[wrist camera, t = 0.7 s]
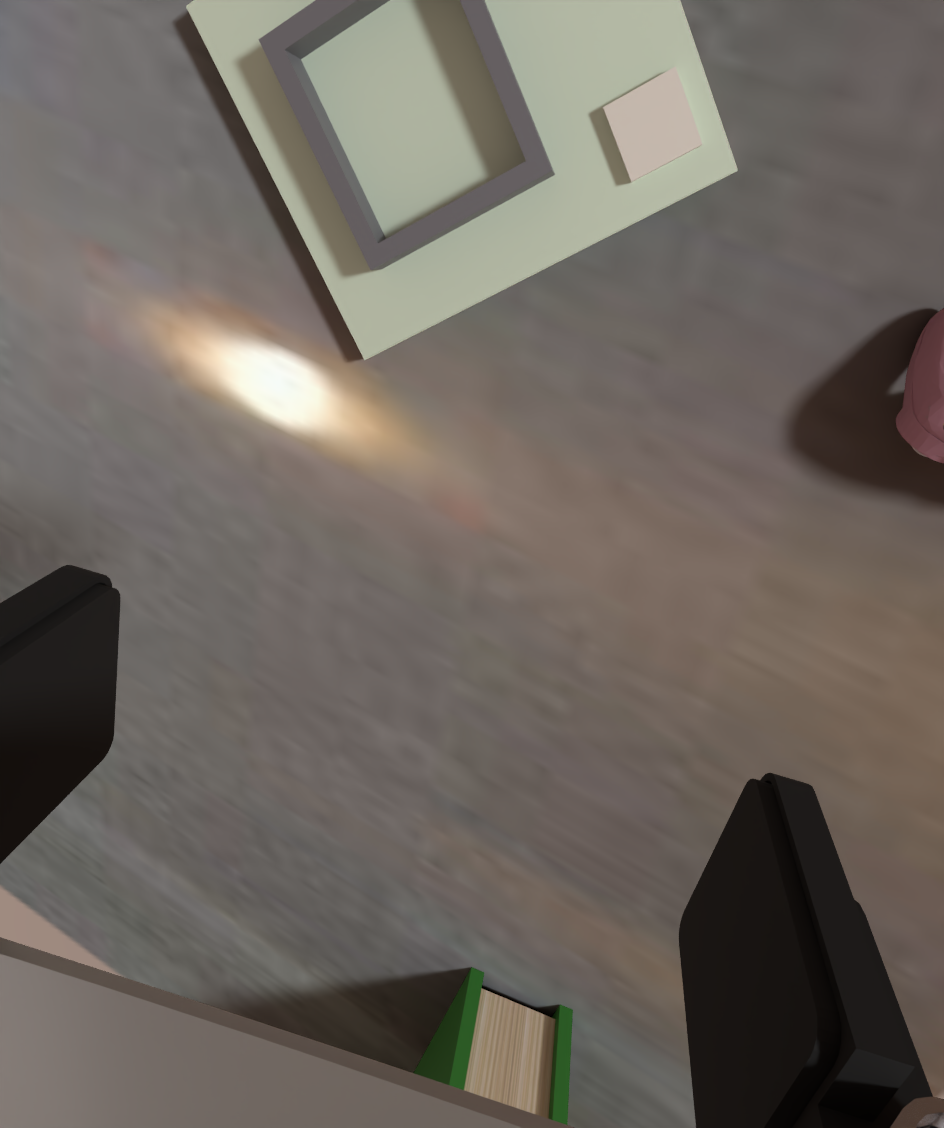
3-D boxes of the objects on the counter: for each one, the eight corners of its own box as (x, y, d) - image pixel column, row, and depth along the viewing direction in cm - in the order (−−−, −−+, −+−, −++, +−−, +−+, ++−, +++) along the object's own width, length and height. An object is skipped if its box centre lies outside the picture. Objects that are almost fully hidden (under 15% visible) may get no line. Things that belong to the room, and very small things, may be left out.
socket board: (584, -264, 28) (581, -318, 26) (733, 173, 33) (744, 166, 30) (199, 14, 34) (163, -7, 31) (371, 357, 38) (353, 365, 35)
